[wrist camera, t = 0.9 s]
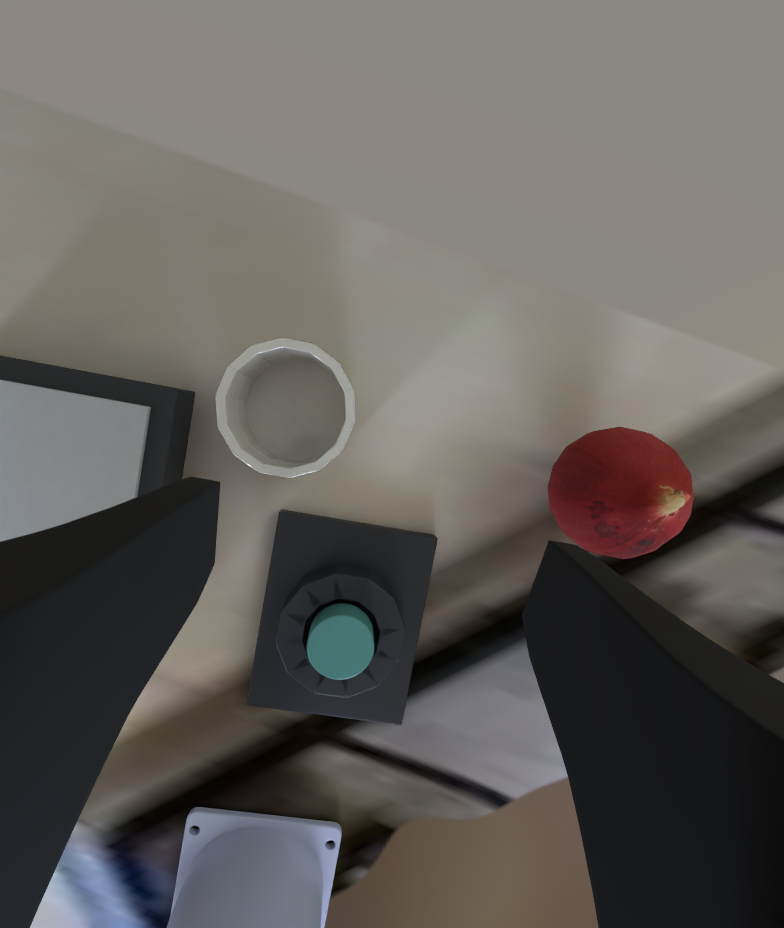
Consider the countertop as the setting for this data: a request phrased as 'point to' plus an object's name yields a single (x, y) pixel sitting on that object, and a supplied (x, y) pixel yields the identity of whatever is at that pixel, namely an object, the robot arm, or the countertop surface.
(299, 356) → the cup
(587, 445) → the onion
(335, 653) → the button
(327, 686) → the pad
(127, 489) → the scale
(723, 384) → the countertop surface
